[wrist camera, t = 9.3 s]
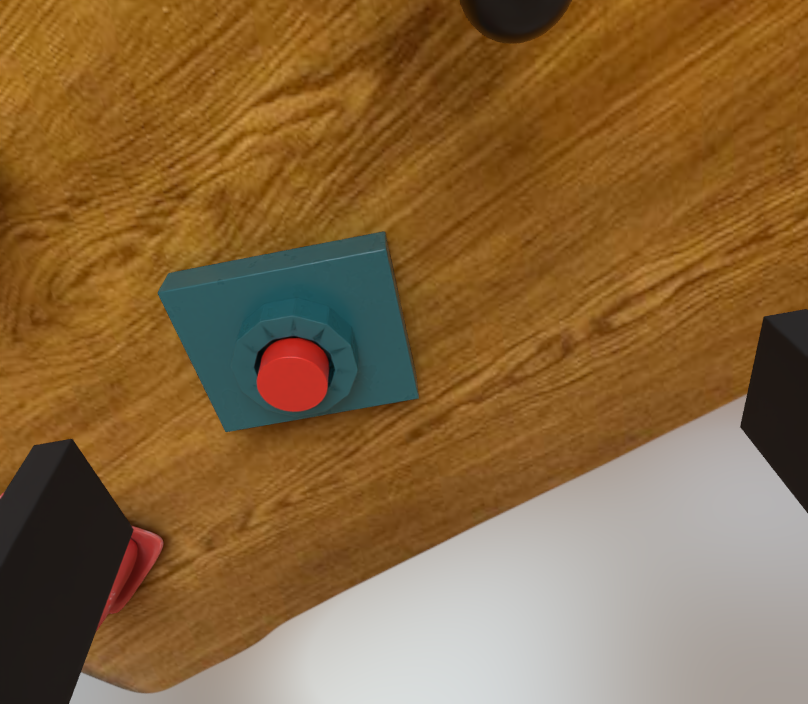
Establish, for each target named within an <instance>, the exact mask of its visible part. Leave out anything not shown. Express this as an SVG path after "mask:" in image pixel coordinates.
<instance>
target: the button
mask: <svg viewBox="0 0 808 704" xmlns="http://www.w3.org/2000/svg"><path fill="white" fill-rule="evenodd" d="M328 377H329V361H328V358H327V356H326V354H325V352H324V351H323V350H322V349H321V348H320V347H319V346H318V345H316V344H315V343H313V342H311V341H309V340H306V339H302V338H285V339H281V340H278V341H276V342H274V343H273V344H271V345H270V346H269V347H268V348H267V349H266V350H265V352H264V353H263V356H262V359H261V363H260V368H259V372H258V376H257V388H258V391H259V393H260V395H261V396H262V398H263V399H264V400H265V401H266V402H267V403H269V404H270V405H272V406H274V407H275V408H278V409H281V410H284V411H292V412H298V411H304V410H308V409H311V408H313V407H315V406H316V405H318V404H319V403H320V402H321V401H322V400H323V398H324V397H325V395H326V393H327V389H328Z"/></svg>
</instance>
